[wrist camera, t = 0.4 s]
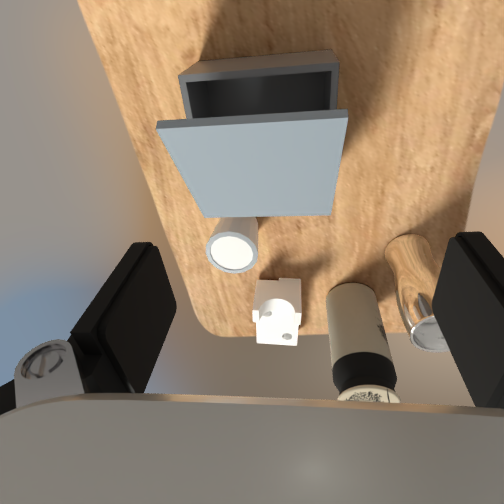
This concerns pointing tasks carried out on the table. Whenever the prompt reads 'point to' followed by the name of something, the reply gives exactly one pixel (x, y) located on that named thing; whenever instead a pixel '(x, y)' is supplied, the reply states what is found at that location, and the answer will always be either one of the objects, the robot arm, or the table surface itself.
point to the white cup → (234, 244)
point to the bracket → (277, 310)
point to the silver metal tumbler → (416, 290)
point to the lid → (259, 161)
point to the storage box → (261, 84)
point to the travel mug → (359, 346)
